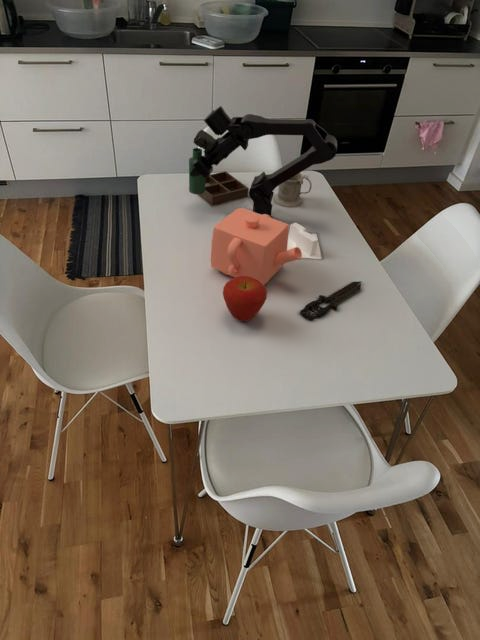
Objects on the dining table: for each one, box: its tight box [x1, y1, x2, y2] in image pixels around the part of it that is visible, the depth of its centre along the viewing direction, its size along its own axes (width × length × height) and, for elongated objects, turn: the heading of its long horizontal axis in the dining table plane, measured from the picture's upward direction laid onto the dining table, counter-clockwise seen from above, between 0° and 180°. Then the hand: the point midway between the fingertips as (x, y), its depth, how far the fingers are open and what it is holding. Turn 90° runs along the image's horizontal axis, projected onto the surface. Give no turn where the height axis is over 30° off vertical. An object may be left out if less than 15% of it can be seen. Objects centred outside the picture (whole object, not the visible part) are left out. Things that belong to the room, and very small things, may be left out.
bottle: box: [188, 147, 205, 195], centre depth 169 cm, size 5×5×14 cm
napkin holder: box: [287, 222, 323, 260], centre depth 162 cm, size 15×11×6 cm
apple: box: [222, 276, 268, 322], centre depth 131 cm, size 11×11×12 cm
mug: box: [274, 172, 312, 208], centre depth 181 cm, size 14×10×12 cm
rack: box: [197, 170, 249, 207], centre depth 186 cm, size 15×15×4 cm
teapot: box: [210, 207, 302, 286], centre depth 144 cm, size 25×23×18 cm
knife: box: [299, 281, 362, 321], centre depth 142 cm, size 25×6×1 cm, turn 127°
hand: (193, 171), depth 170 cm, fingers closed on bottle, 5 cm apart
